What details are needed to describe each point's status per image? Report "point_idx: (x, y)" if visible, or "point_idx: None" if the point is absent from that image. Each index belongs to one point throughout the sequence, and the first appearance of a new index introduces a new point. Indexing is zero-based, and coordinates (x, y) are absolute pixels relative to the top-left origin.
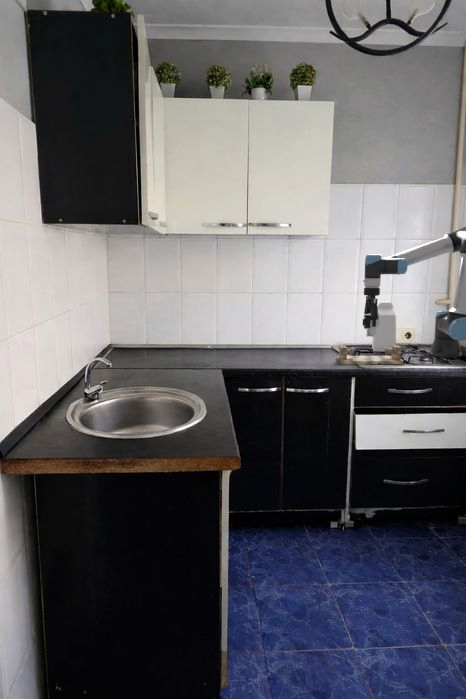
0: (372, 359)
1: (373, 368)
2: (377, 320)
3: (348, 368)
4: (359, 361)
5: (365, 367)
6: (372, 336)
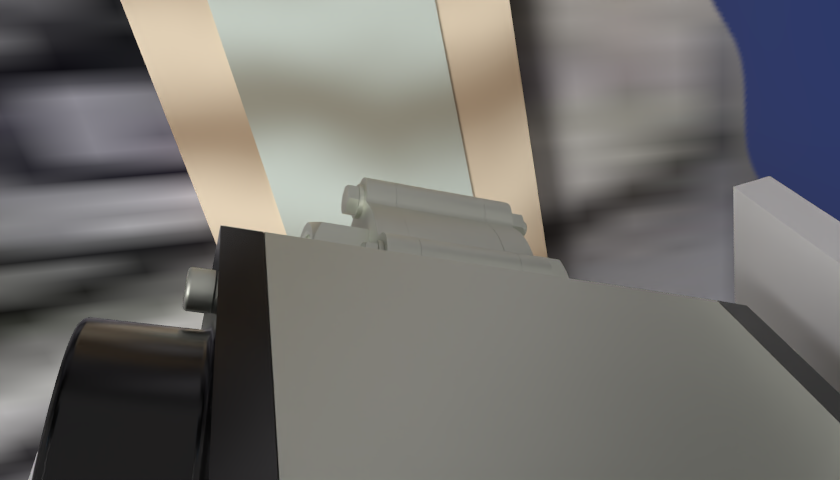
0: (429, 62)
1: (724, 23)
2: (389, 362)
3: (722, 274)
4: (540, 210)
5: (677, 116)
6: (519, 219)
